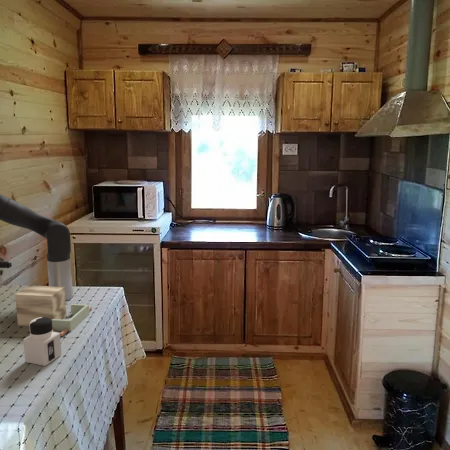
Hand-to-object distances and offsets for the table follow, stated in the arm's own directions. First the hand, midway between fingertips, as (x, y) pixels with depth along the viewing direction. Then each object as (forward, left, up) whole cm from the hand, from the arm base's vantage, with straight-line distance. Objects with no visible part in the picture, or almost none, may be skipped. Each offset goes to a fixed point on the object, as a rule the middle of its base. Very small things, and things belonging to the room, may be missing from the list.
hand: (10, 264), depth 167 cm
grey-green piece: (0, +22, -21) cm, 31 cm away
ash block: (0, +11, -22) cm, 24 cm away
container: (+28, +26, -22) cm, 44 cm away
